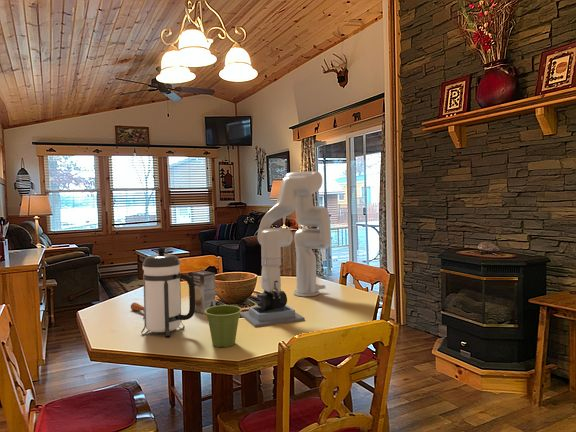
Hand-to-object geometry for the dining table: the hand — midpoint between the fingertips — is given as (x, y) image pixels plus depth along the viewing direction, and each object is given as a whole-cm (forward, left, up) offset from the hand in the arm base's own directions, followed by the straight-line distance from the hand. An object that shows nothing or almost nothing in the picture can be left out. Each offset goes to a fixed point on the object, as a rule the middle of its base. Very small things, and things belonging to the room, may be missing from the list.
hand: (271, 305), depth 170 cm
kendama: (+45, -26, -5) cm, 53 cm away
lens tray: (0, 0, -5) cm, 5 cm away
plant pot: (+25, +22, -5) cm, 34 cm away
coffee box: (+22, -22, -5) cm, 31 cm away
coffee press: (+40, +1, -5) cm, 40 cm away
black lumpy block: (0, 0, -2) cm, 2 cm away
